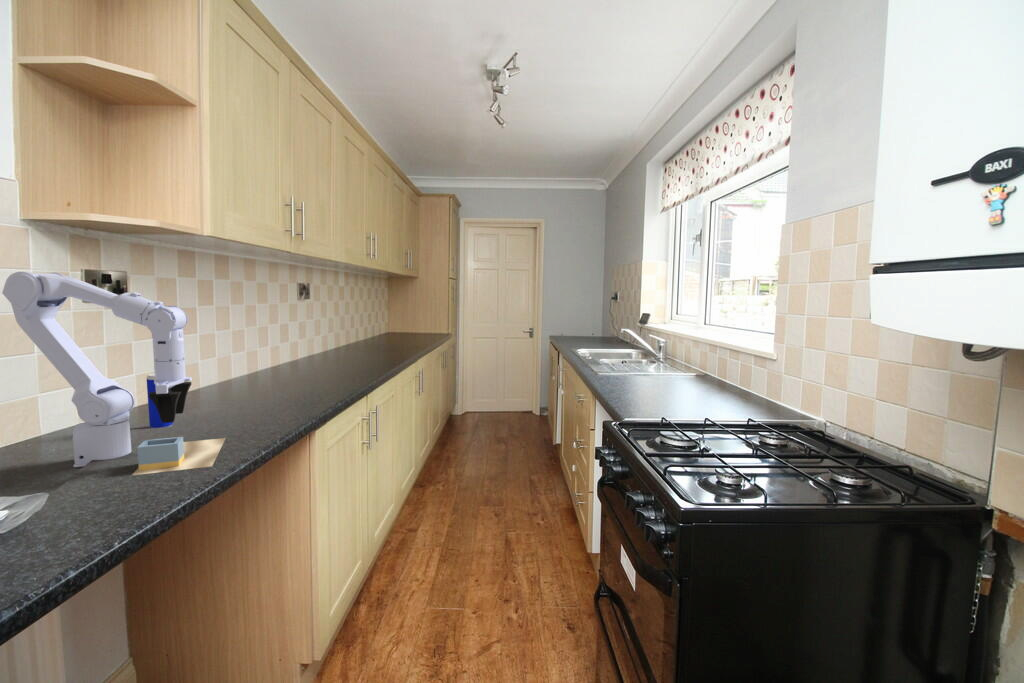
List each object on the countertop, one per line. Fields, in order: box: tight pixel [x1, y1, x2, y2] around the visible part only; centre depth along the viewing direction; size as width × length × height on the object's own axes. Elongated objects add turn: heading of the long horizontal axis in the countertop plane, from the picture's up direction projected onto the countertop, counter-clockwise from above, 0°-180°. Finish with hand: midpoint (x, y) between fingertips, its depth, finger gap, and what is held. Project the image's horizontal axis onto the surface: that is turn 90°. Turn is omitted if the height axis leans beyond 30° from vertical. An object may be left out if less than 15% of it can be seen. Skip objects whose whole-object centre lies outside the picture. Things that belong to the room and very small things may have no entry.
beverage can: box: [146, 372, 174, 429], centre depth 130 cm, size 5×5×15 cm
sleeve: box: [136, 436, 184, 470], centre depth 102 cm, size 5×7×5 cm
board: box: [131, 437, 226, 476], centre depth 107 cm, size 14×20×5 cm
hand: (173, 417), depth 108 cm, fingers open, 7 cm apart
